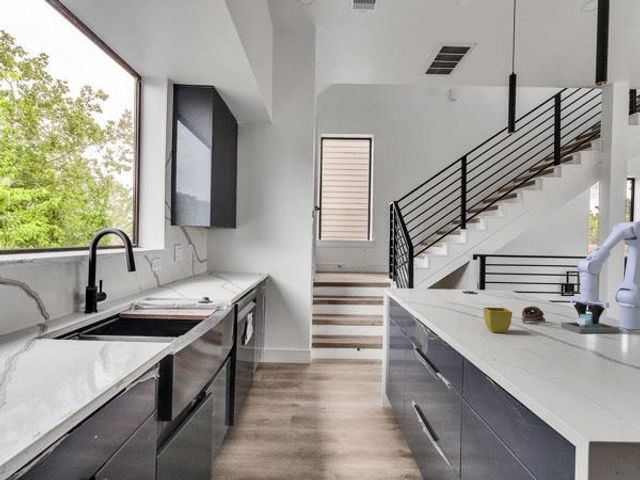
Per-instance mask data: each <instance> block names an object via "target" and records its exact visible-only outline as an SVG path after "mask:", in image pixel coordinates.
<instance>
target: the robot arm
mask: <svg viewBox="0 0 640 480" xmlns="http://www.w3.org/2000/svg"><path fill="white" fill-rule="evenodd" d="M611 229H612V230H611V231H612V232H611V233H610V234H609V236H608V237H607V238H606V240H605V241H604V242H603V243H602V245H600V246H596V247H593V250H592V251H591V252H590V254H588V255H587V256H586V258H585V259H582V260H580V261H579V262H578V264H577V266H576V270H577V272H578V273H579V274H578V276H579V278H580V298H577V297H570V300H569V303H571V304H573V307H574V309H575V310H576V313H577V314H578V319H580V314H587V309H588V306H590V311H591V314H592V321H593V324H598V322H599V323H600V319H601V315H602V314H603V312H604V311H605V309H607V308H608V309H609V308H610V302H606V301H602V300H598V299H599V298H598V293H599V292H598V288H599V287H598V274H600V273H601V272H602V267H603V264H604V263H605V262H606V261H607V260H608V258H610V256H611V251H612V250H613V249H614V248H615V247H616V246H617V245H618V244H619V243H620V242H621V241H624V242H625V243H627V244H628V245H629V246H628V252H627V259H626V266H625V272H624V278H623V279H624V280H623V282H622V283H620V284H618V285H617V289H616V291H615V292H614V301H615V302H616V303H617V305H618V306H619V323H618V324H616V323H615V324H614V327H617V328H621V329H626V330H630V331H632V330H640V220H638V221H618V222H616V223H615V224H614V226H612V227H611Z"/></svg>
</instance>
